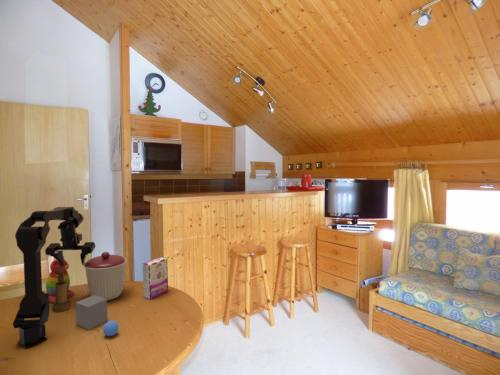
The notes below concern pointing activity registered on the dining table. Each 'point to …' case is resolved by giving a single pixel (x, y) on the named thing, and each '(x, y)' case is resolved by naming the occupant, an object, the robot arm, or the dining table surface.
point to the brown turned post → (61, 293)
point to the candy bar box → (155, 277)
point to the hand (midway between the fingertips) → (73, 264)
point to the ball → (110, 328)
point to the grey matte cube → (91, 312)
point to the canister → (105, 275)
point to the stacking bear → (53, 279)
